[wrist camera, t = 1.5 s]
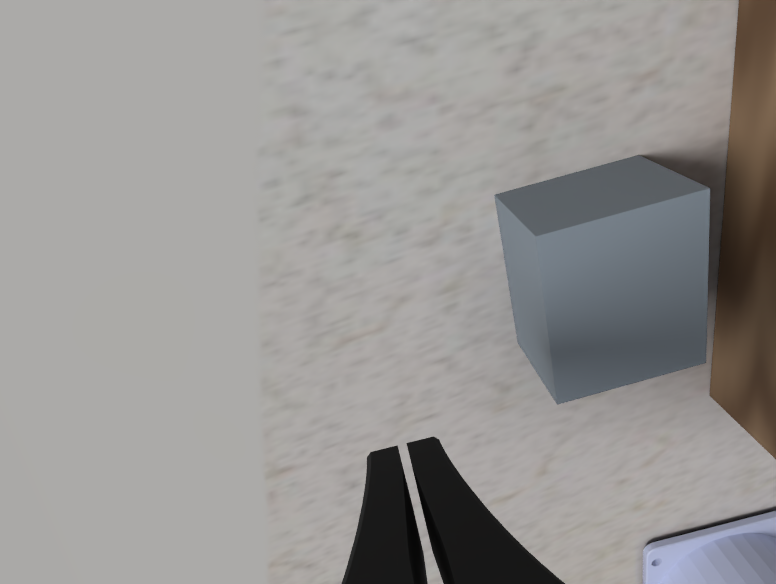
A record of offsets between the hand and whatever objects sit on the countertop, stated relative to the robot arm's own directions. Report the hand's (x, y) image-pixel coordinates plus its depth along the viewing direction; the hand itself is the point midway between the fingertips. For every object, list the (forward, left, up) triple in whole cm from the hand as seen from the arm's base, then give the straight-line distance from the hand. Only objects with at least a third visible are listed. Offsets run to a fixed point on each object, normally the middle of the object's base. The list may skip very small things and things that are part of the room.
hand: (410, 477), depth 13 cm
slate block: (0, -8, -9) cm, 11 cm away
